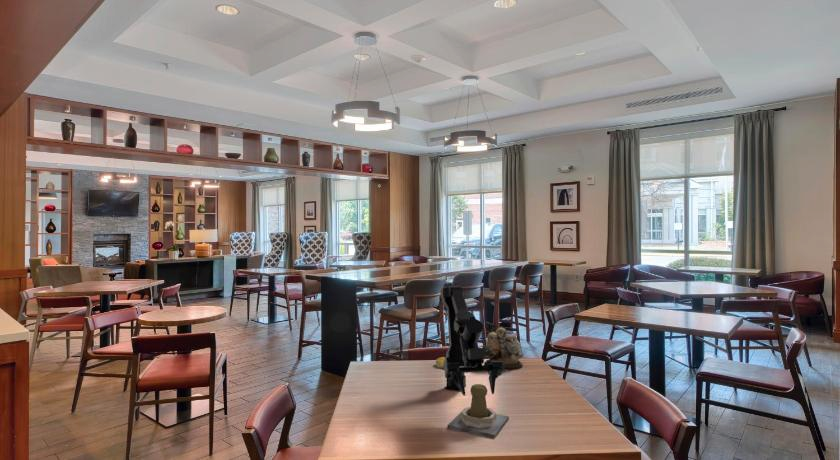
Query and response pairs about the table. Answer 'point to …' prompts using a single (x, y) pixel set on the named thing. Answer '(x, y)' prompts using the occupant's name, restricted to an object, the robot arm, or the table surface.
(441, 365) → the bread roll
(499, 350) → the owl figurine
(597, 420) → the table surface
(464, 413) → the socket
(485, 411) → the cork
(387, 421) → the table surface
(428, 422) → the table surface
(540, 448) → the table surface
